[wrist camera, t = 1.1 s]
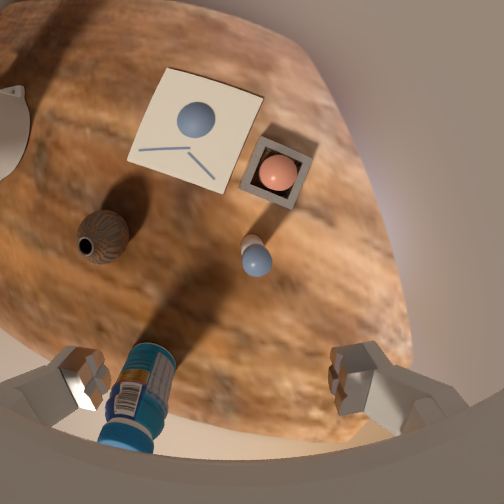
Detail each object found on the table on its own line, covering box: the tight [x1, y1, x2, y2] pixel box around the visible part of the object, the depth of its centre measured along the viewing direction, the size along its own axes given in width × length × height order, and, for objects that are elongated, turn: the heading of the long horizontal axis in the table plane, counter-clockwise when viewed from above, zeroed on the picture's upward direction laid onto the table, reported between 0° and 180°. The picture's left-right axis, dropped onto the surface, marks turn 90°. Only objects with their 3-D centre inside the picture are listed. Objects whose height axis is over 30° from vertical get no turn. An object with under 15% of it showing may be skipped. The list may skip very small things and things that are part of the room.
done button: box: [258, 155, 297, 191], centre depth 33 cm, size 4×4×3 cm
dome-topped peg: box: [240, 234, 272, 277], centre depth 34 cm, size 3×3×8 cm
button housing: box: [238, 136, 313, 210], centre depth 34 cm, size 7×7×3 cm
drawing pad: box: [127, 68, 263, 194], centre depth 33 cm, size 14×14×1 cm
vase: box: [76, 210, 129, 264], centre depth 31 cm, size 7×7×9 cm
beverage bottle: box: [97, 343, 176, 454], centre depth 32 cm, size 8×8×20 cm
